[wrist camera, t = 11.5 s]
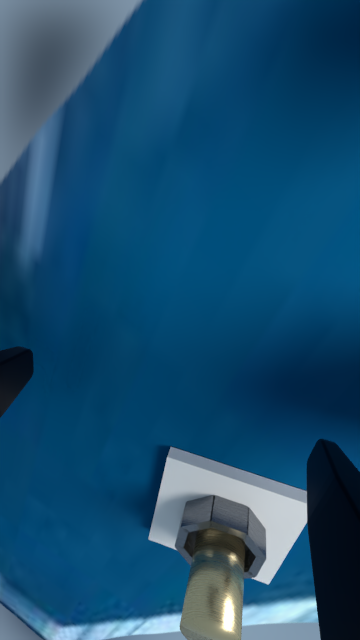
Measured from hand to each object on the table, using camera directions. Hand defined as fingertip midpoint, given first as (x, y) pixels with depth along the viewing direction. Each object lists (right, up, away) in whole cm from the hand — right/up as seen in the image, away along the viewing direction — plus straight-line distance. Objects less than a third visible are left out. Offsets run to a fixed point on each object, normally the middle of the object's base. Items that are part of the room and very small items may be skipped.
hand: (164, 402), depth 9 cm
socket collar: (+4, -17, +20) cm, 27 cm away
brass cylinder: (+5, -17, +20) cm, 27 cm away
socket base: (+5, -17, +21) cm, 27 cm away
